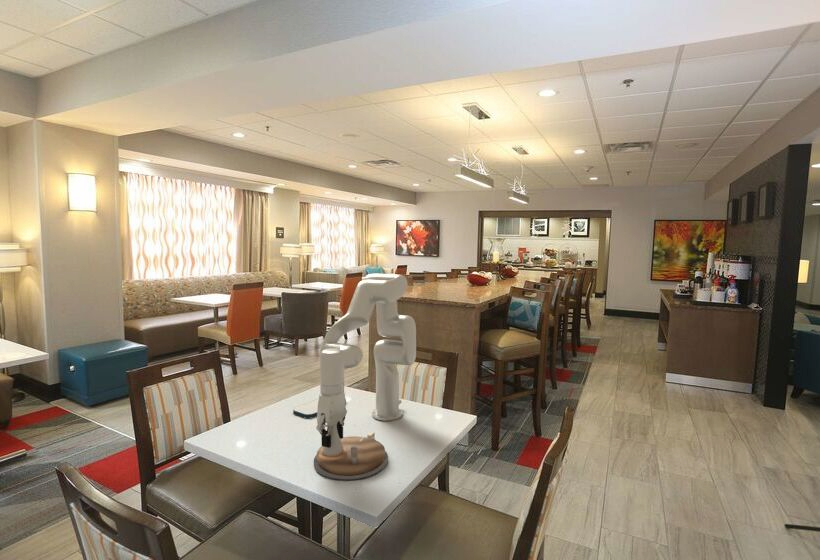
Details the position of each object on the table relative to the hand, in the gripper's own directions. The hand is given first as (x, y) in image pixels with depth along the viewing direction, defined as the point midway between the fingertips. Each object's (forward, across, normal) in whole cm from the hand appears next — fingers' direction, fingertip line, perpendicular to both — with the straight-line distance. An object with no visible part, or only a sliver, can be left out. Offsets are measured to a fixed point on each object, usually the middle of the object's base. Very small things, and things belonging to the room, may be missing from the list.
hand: (332, 441), depth 139 cm
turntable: (+6, -3, +5) cm, 8 cm away
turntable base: (+7, -4, +5) cm, 10 cm away
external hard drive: (+8, -37, -32) cm, 50 cm away
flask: (+4, 0, 0) cm, 4 cm away
